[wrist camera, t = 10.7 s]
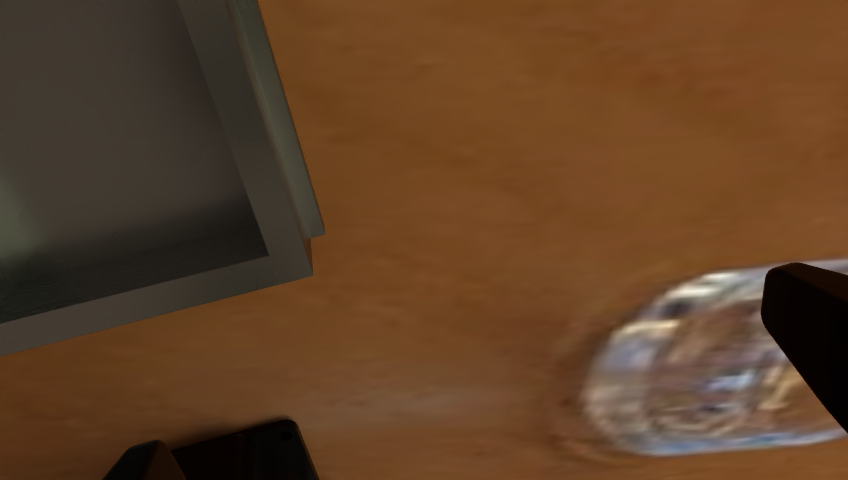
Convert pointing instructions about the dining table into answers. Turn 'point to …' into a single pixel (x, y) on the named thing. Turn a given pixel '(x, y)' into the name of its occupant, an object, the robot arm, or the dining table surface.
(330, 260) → the dining table surface
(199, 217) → the keyhole guide
